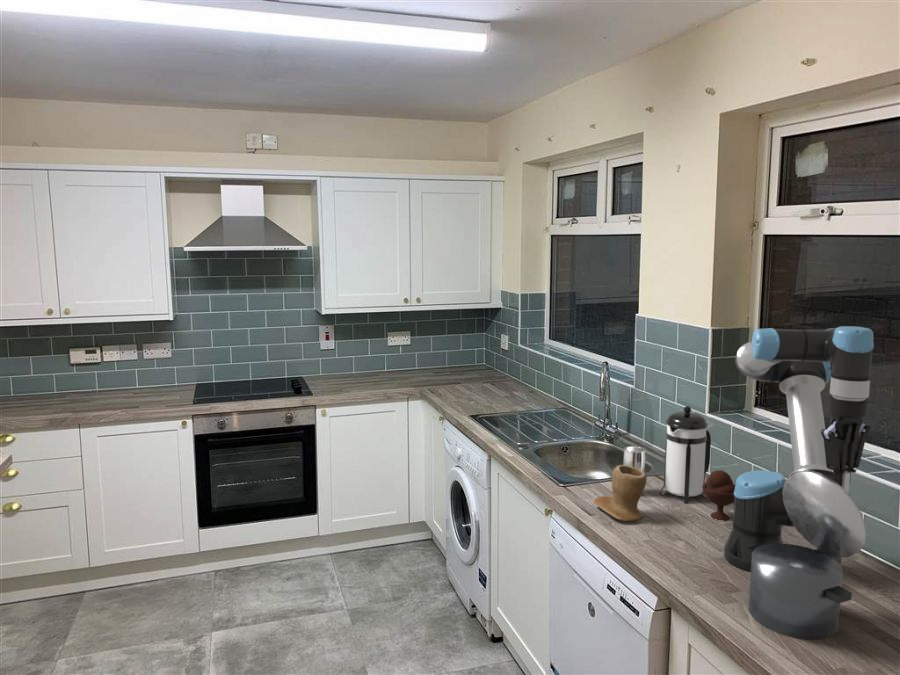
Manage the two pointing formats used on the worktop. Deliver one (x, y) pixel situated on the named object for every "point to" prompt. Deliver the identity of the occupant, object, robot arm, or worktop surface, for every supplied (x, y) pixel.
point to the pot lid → (824, 513)
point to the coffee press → (686, 454)
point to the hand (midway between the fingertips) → (840, 498)
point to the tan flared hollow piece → (624, 494)
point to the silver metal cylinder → (634, 457)
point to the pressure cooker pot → (796, 590)
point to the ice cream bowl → (719, 492)
